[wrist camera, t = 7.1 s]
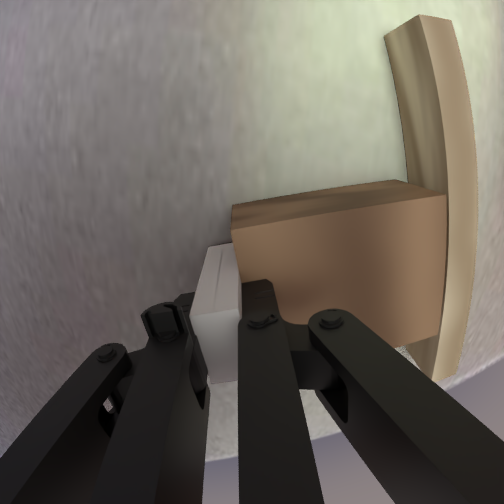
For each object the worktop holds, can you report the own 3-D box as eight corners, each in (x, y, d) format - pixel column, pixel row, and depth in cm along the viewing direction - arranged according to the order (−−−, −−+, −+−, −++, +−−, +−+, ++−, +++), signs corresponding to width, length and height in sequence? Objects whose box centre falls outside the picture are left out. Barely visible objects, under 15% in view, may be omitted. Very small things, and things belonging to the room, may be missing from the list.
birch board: (405, 348, 20) (430, 383, 16) (383, 36, 13) (418, 14, 10) (429, 341, 20) (455, 373, 16) (413, 38, 13) (451, 20, 9)
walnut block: (256, 322, 18) (261, 378, 14) (232, 204, 16) (230, 230, 12) (398, 292, 18) (437, 334, 14) (395, 179, 16) (446, 194, 11)
